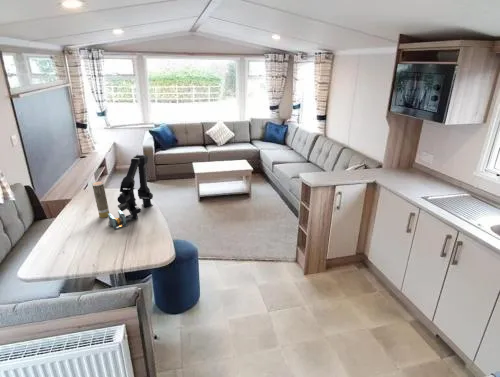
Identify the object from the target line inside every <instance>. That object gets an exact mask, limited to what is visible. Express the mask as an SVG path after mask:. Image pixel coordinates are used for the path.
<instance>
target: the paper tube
mask: <svg viewBox="0 0 500 377" xmlns="http://www.w3.org/2000/svg"><path fill="white" fill-rule="evenodd" d="M92 189H93V190H92V191H93V194H94V198H95V203H96V207H97V211H98V216H99V218H102V219H105V218H107V217H108V213H110V209H109V205H108V201H107V200H108V199H107V194H106V189H105V186H104V182H103V181H94V182H93V183H92ZM108 218H109V217H108Z"/></svg>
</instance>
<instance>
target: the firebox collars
mask: <svg viewBox="0 0 500 377" xmlns="http://www.w3.org/2000/svg"><path fill="white" fill-rule="evenodd" d="M123 212H124V211H121V210H120V209H119V210H117V213H118V218H120V217H122V220H123V223H122V224H118V226H117V225H116V223H115V219H116V218H117V217H114V216H113V214H112V213H111V212H109V213H108V222H109V221H110V220H112V224H113V226H112V228H113V229H114V231H116V230H120V229H123V228H126V227H128V223H127V222H126V218H125V216H126V215H125V214H124V213H123Z"/></svg>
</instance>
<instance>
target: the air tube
mask: <svg viewBox="0 0 500 377" xmlns="http://www.w3.org/2000/svg"><path fill="white" fill-rule="evenodd" d="M115 218H116V219H115V223H116V226H117V225H118V226H119V225H122V224H123V220H122V217H120V218H119V217H115ZM125 218H126V223H127V222H131V221H134V220H137V219H139V217H138V215H137V217H136V219H134V218H133V216H132V214H127V215H125ZM108 224H109V227H113V224H112V220H110V221H109V220H108Z"/></svg>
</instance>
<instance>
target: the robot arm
mask: <svg viewBox="0 0 500 377" xmlns="http://www.w3.org/2000/svg"><path fill="white" fill-rule="evenodd" d="M148 160H149V157H148V156H147V155H146V154H136V155H135V156H133V157H132V158H131V159H130V164H129V167H128V169H127V174H126V175H125V176H124V177H123V179H122V180H121V183H120V188H119V196H117V202H118V203H119V204H118V205H117V208H118V209H119V210H121V211H122V212H124V211H125V210H127V211H128V212H129V215H131V214H132V216H133V218H134V220H137V219H136V217H137V216H138V214H140V213H142V210H141V208H140V207H138V204H137V202H136V201H137V199H136V198H135V192H134V190H135V176H136V173H137V169H138V178H139V188H138V189H137V196H138V198H139V200H142V204H141V206H142V207H143V208H144V209H148V208H150V207H153V206H154V204H152V200H153V197H154V194H153V193H152V192H151V190H150V188H149V186H148V181H147V168H146V167H147V165H148V164H149V163H148Z"/></svg>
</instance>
